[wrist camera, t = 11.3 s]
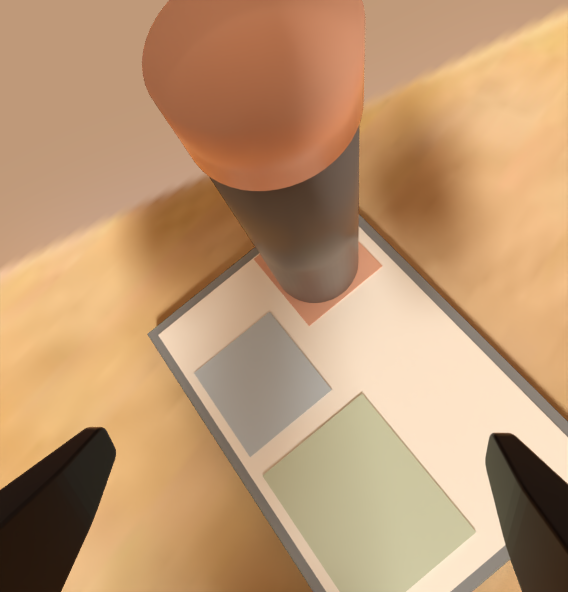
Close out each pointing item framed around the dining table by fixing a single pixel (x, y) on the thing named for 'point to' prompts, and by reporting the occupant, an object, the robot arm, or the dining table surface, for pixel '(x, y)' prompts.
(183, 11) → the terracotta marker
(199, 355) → the picture board
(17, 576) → the robot arm
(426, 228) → the dining table surface
